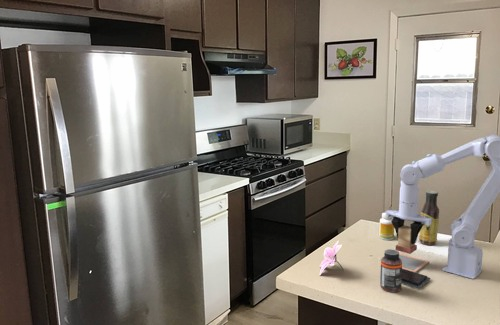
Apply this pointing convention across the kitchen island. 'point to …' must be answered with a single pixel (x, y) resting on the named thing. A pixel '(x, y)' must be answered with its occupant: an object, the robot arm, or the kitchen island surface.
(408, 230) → the stamp
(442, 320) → the kitchen island surface
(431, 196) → the tonic bottle
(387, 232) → the supplement bottle
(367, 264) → the kitchen island surface
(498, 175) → the robot arm
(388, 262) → the supplement bottle
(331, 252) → the lily
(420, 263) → the mat
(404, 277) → the ink pad
